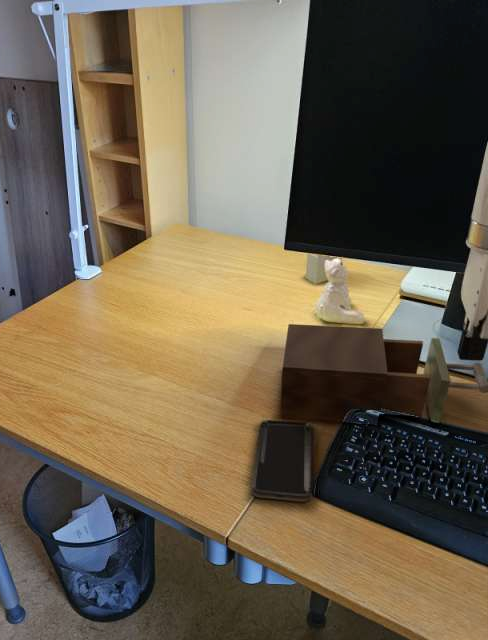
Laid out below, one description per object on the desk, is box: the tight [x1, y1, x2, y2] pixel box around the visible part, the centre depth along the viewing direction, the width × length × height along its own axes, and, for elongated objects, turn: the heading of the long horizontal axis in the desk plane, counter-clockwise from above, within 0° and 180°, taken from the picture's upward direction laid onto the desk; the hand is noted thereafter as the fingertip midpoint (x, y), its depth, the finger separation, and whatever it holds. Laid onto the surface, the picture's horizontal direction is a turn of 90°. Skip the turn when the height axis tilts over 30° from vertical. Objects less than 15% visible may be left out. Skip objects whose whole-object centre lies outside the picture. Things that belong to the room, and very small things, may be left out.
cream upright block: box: [305, 253, 343, 285], centre depth 122 cm, size 4×7×10 cm, turn 118°
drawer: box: [381, 337, 488, 422], centre depth 85 cm, size 20×11×8 cm, turn 78°
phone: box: [251, 419, 314, 503], centre depth 79 cm, size 8×1×15 cm
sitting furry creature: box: [314, 258, 365, 325], centre depth 107 cm, size 10×9×12 cm
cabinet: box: [279, 323, 388, 424], centre depth 87 cm, size 15×13×10 cm
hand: (469, 357), depth 81 cm, fingers closed
